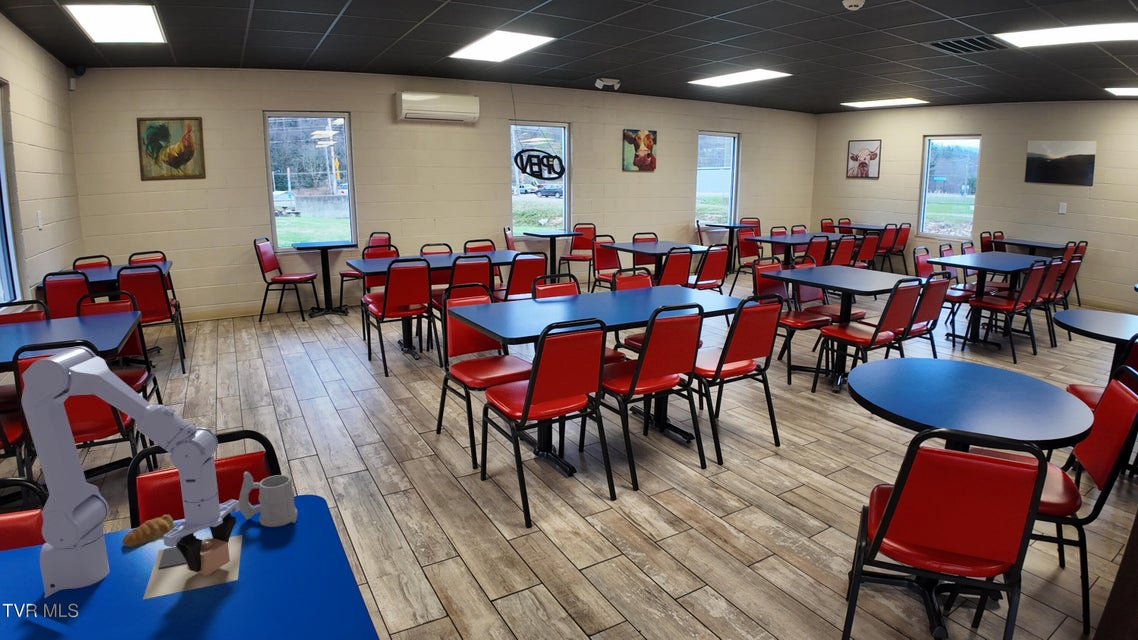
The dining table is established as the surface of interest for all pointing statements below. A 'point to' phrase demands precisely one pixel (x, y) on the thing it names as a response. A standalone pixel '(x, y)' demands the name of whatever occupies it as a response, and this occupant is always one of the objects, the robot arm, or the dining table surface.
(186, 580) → the base board
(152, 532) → the pastry
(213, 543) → the beige toy brick
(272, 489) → the mug
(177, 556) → the rest pad
